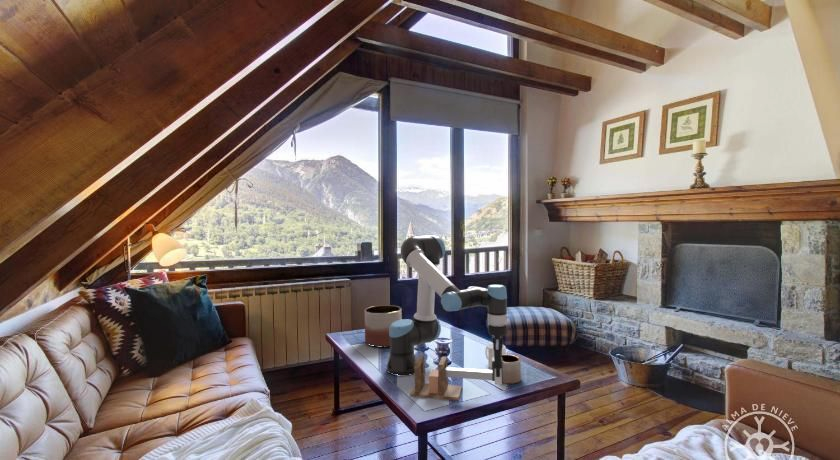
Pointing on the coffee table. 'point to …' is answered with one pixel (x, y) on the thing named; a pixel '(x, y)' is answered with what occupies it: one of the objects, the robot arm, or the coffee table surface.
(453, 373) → the hammer
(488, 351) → the cup
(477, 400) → the coffee table surface
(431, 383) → the spacer
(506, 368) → the planter
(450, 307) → the robot arm
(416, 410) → the coffee table surface
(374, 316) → the planter
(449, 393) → the bracket
